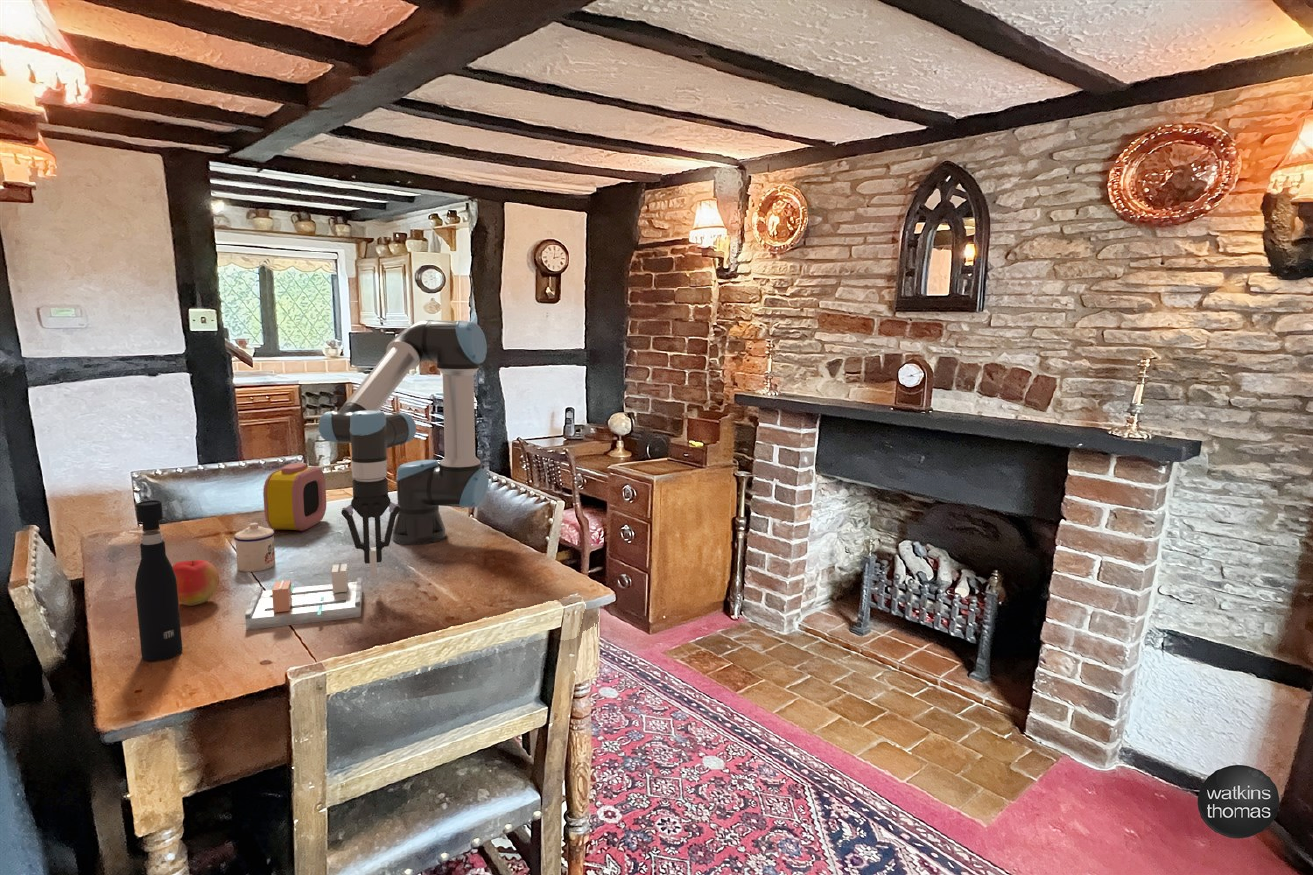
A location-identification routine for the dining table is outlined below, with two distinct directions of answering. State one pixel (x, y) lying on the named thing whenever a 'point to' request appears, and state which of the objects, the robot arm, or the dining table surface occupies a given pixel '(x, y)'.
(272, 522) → the alarm clock
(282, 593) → the fader
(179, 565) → the apple
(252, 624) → the console
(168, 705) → the dining table surface
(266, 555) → the teacup with lid
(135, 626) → the dining table surface
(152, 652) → the black water bottle
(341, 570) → the fader
